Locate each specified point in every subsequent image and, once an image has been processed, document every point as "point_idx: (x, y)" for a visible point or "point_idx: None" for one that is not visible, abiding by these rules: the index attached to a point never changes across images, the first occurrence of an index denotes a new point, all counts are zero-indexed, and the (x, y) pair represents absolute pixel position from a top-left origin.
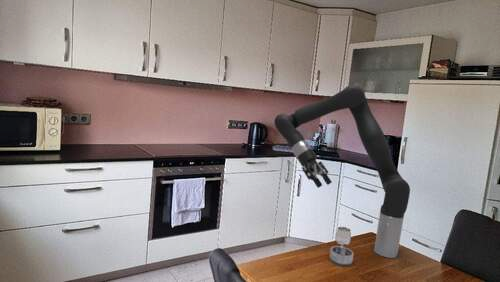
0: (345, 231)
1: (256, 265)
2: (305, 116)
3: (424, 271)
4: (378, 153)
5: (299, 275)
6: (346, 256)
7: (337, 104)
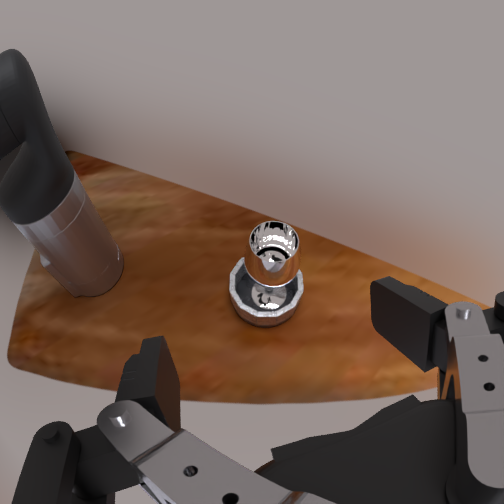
0: (288, 225)
1: None
2: None
3: (118, 185)
4: None
5: (423, 285)
6: None
7: None
